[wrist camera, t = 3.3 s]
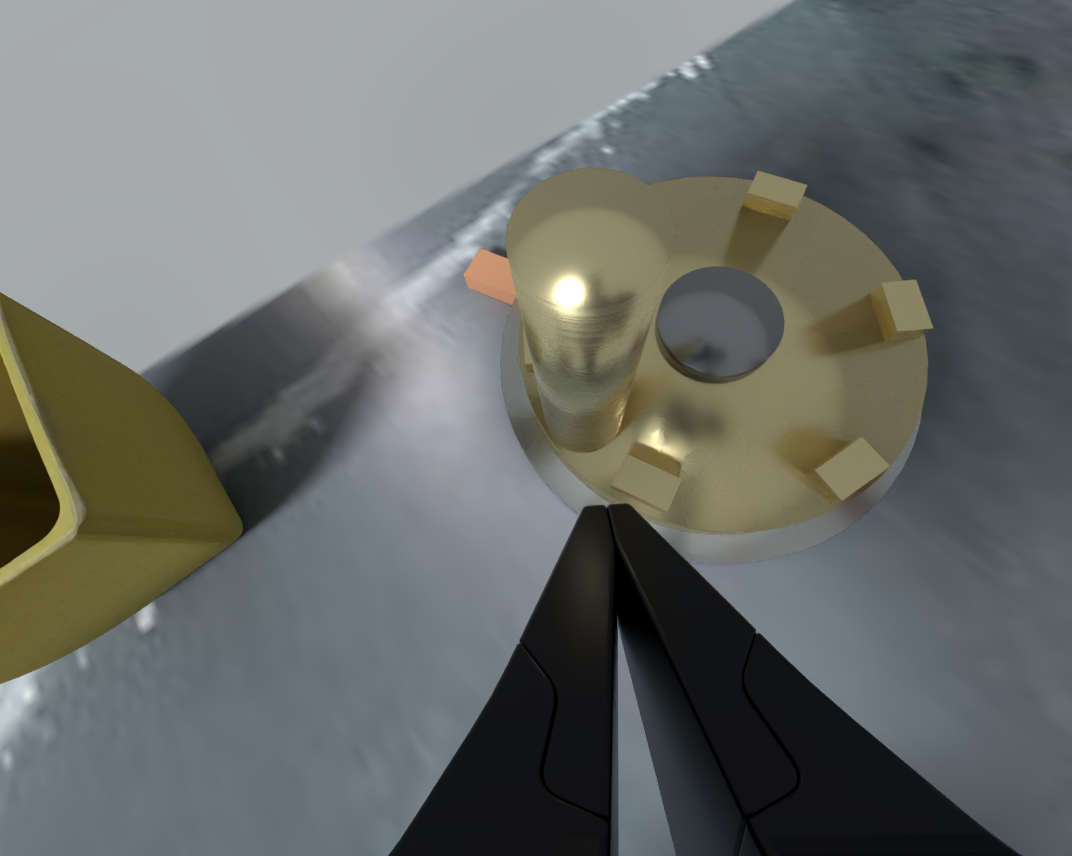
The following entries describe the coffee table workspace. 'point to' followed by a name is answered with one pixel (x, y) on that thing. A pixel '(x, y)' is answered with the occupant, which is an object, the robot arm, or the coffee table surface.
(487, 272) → the tab
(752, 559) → the base plate
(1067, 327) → the coffee table surface
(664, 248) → the crank disc
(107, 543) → the flower pot
